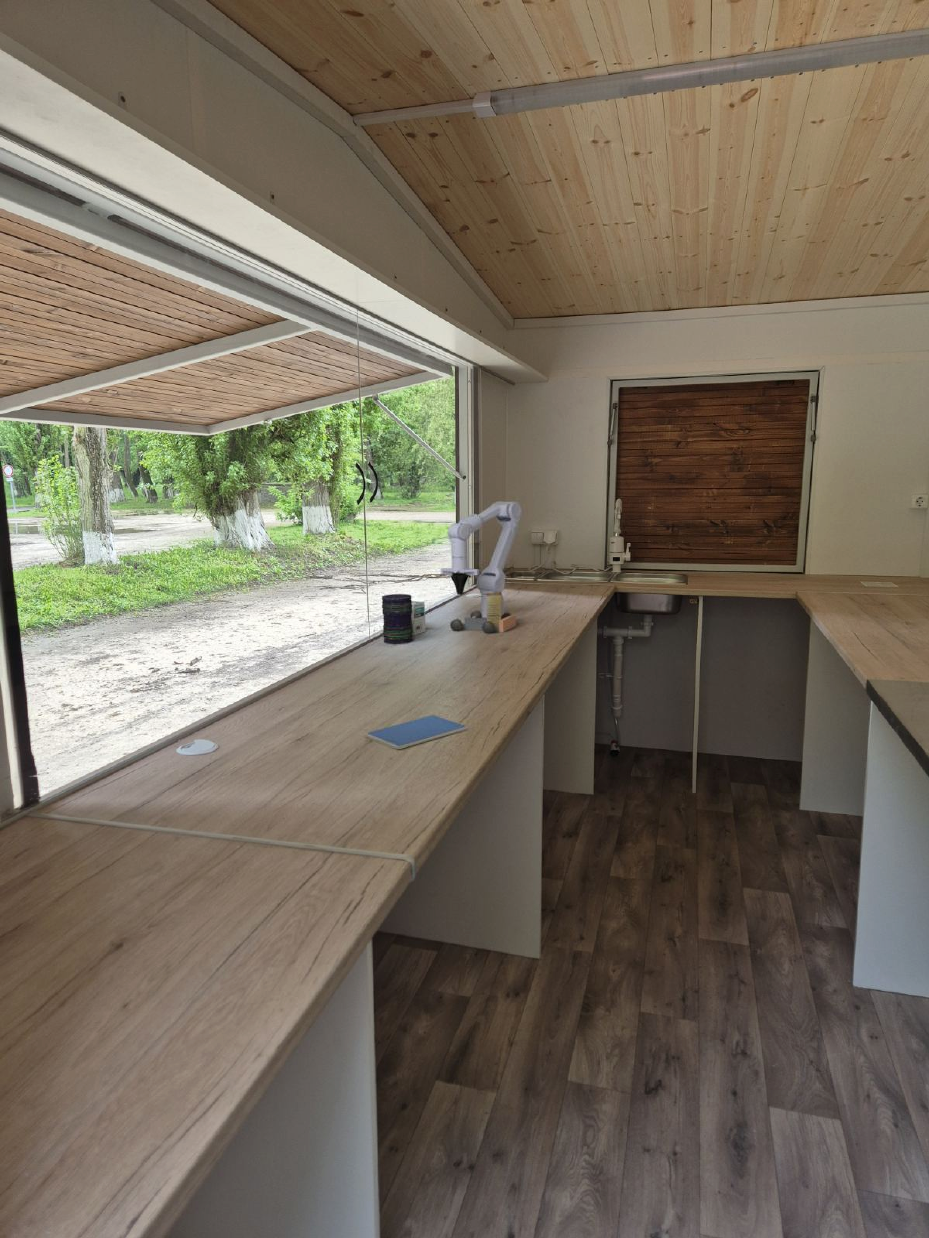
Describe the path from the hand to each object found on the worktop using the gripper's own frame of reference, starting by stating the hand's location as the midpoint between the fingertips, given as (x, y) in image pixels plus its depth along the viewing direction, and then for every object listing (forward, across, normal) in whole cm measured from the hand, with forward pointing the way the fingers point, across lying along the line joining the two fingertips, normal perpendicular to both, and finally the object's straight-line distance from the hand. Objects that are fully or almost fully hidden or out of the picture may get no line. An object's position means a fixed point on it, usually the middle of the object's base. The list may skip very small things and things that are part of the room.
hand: (460, 594), depth 297 cm
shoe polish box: (+11, +16, -6) cm, 20 cm away
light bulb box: (+11, -10, -22) cm, 26 cm away
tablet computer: (+12, +44, -117) cm, 125 cm away
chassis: (+10, +12, -6) cm, 17 cm away
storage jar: (+11, -6, -36) cm, 38 cm away
